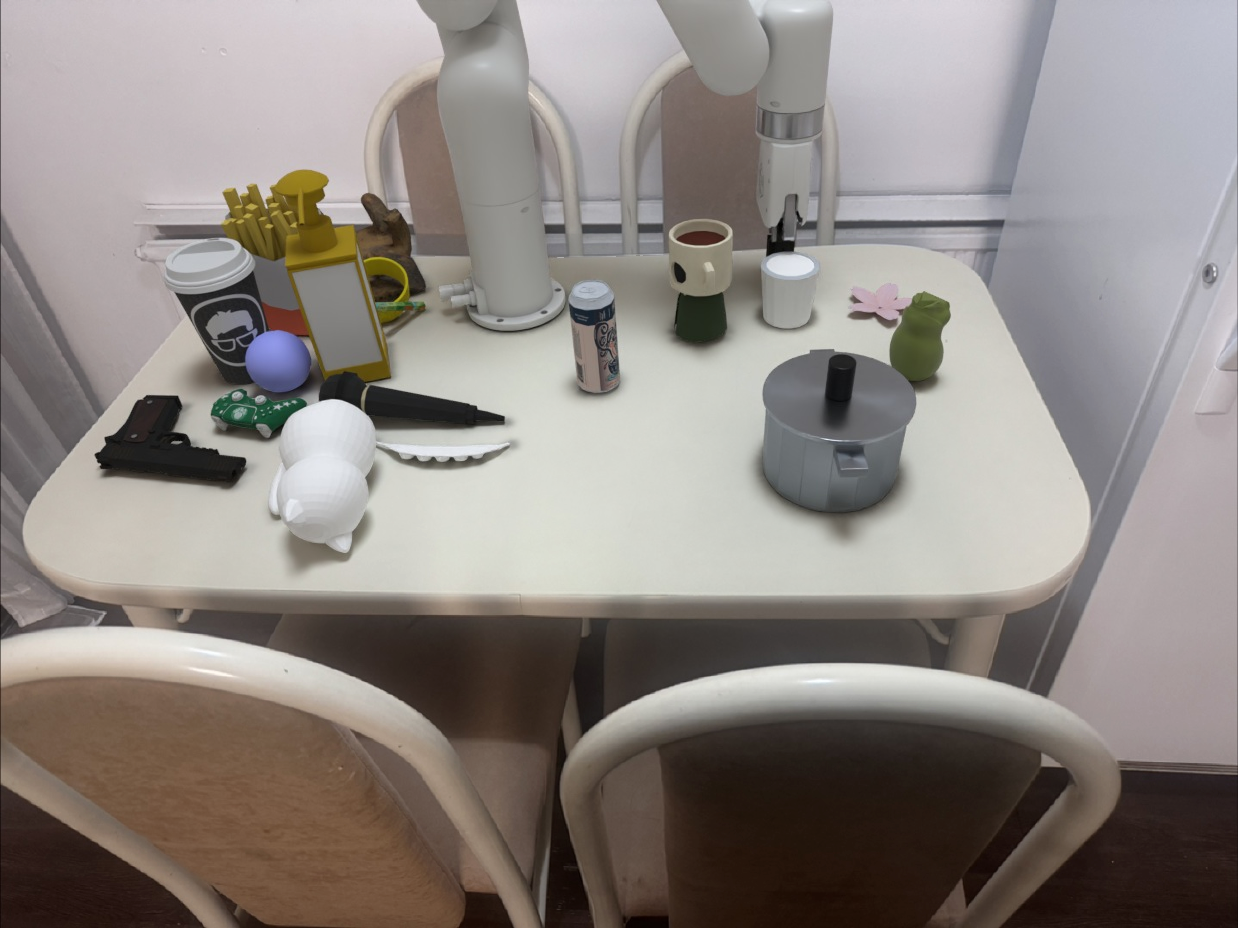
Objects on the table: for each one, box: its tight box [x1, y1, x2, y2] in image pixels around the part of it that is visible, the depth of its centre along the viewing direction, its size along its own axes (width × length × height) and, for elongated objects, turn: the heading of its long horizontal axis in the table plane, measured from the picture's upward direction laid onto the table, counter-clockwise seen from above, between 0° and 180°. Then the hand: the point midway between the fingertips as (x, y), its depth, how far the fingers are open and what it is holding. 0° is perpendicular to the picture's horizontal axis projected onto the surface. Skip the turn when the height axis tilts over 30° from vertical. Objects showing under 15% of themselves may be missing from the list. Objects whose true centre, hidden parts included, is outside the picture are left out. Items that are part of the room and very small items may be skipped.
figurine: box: [320, 192, 427, 302], centre depth 118 cm, size 13×8×20 cm
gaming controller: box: [210, 388, 308, 439], centre depth 94 cm, size 9×4×6 cm
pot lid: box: [761, 351, 917, 445], centre depth 78 cm, size 14×14×5 cm
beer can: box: [567, 279, 621, 394], centre depth 93 cm, size 5×5×12 cm
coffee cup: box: [163, 237, 270, 385], centre depth 99 cm, size 10×10×15 cm
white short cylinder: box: [760, 251, 821, 330], centre depth 103 cm, size 7×7×7 cm
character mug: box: [668, 218, 734, 344], centre depth 99 cm, size 11×7×13 cm, turn 8°
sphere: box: [245, 330, 312, 393], centre depth 98 cm, size 7×7×7 cm
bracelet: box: [364, 257, 410, 324], centre depth 110 cm, size 7×8×3 cm
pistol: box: [93, 394, 247, 484], centre depth 92 cm, size 2×18×12 cm
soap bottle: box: [274, 169, 392, 383], centre depth 92 cm, size 7×13×24 cm, turn 15°
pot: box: [762, 348, 908, 514], centre depth 82 cm, size 13×18×8 cm
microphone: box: [318, 371, 506, 425], centre depth 93 cm, size 6×6×20 cm
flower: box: [847, 282, 913, 321], centre depth 105 cm, size 10×10×2 cm
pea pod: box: [376, 440, 511, 463], centre depth 89 cm, size 15×4×2 cm, turn 87°
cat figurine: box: [267, 399, 377, 554], centre depth 82 cm, size 9×12×15 cm
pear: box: [889, 290, 952, 382], centre depth 91 cm, size 6×5×10 cm
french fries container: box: [220, 183, 322, 336], centre depth 104 cm, size 5×11×18 cm, turn 83°
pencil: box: [375, 301, 427, 312], centre depth 103 cm, size 1×1×18 cm
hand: (779, 265), depth 109 cm, fingers closed
